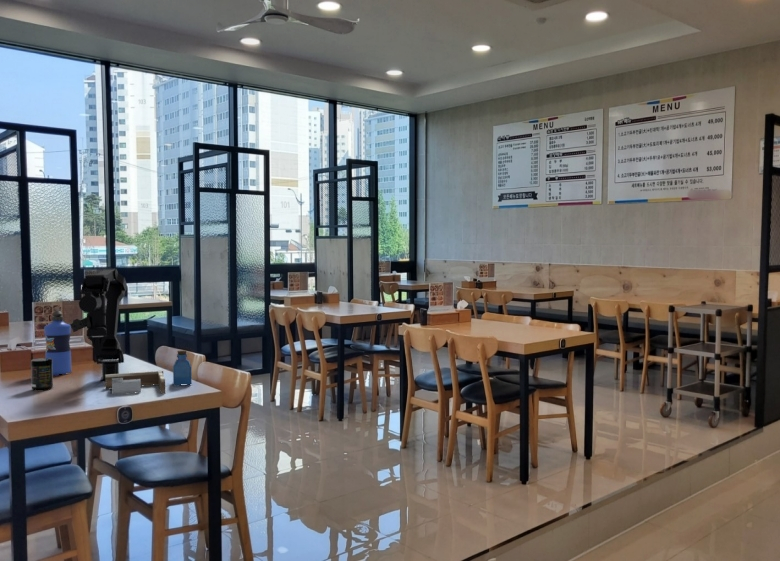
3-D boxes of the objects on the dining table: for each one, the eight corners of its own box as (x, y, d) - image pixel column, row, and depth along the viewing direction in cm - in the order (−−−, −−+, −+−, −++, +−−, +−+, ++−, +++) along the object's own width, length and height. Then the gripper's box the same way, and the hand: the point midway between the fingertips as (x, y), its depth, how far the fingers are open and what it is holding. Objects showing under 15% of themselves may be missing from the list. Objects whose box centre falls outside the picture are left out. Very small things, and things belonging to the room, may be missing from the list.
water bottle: (54, 376, 251) (53, 312, 250) (40, 374, 256) (38, 311, 255) (76, 372, 259) (75, 310, 258) (62, 370, 264) (61, 309, 263)
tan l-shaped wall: (105, 388, 228) (105, 374, 227) (163, 383, 235) (163, 370, 235) (105, 398, 211) (104, 383, 211) (167, 393, 219) (167, 379, 218)
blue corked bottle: (191, 384, 233) (191, 351, 232) (173, 386, 231) (172, 352, 231) (191, 381, 239) (190, 349, 238) (173, 382, 237) (173, 350, 236)
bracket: (139, 387, 228) (139, 376, 228) (140, 392, 220) (140, 380, 220) (112, 389, 225) (111, 378, 225) (112, 394, 216) (111, 383, 216)
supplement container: (57, 388, 229) (56, 358, 228) (40, 391, 222) (39, 361, 222) (44, 386, 231) (43, 357, 231) (27, 390, 225) (26, 360, 225)
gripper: (72, 308, 233) (73, 351, 233) (69, 312, 216) (70, 359, 216) (106, 307, 237) (107, 350, 238) (105, 311, 220) (106, 357, 221)
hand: (97, 354), depth 228 cm, fingers open, 9 cm apart
